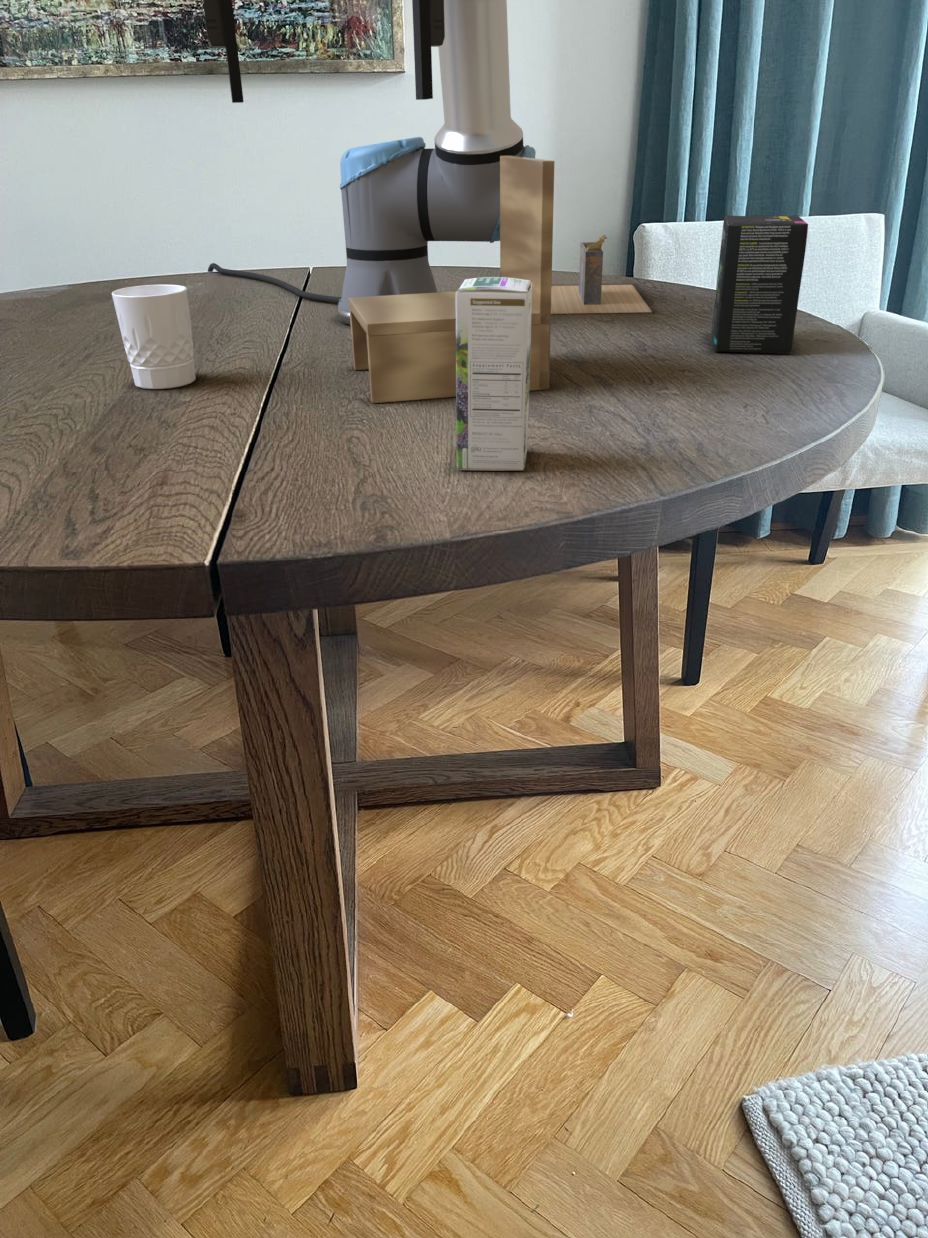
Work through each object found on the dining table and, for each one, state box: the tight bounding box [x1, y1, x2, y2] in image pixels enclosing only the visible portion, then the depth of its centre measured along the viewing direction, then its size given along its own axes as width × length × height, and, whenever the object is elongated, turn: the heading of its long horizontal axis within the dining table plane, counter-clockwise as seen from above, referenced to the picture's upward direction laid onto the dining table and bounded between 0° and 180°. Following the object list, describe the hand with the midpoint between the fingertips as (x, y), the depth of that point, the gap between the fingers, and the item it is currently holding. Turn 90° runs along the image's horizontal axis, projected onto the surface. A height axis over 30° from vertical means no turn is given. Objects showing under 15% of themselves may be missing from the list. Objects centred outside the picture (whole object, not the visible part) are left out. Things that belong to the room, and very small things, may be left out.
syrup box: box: [455, 276, 532, 472], centre depth 76 cm, size 6×6×14 cm
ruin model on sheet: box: [551, 234, 653, 315], centre depth 145 cm, size 25×16×10 cm, turn 178°
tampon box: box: [710, 214, 809, 355], centre depth 113 cm, size 11×9×15 cm
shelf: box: [349, 156, 555, 404], centre depth 99 cm, size 19×16×22 cm
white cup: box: [111, 284, 196, 390], centre depth 103 cm, size 8×8×10 cm
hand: (332, 101), depth 68 cm, fingers open, 13 cm apart
